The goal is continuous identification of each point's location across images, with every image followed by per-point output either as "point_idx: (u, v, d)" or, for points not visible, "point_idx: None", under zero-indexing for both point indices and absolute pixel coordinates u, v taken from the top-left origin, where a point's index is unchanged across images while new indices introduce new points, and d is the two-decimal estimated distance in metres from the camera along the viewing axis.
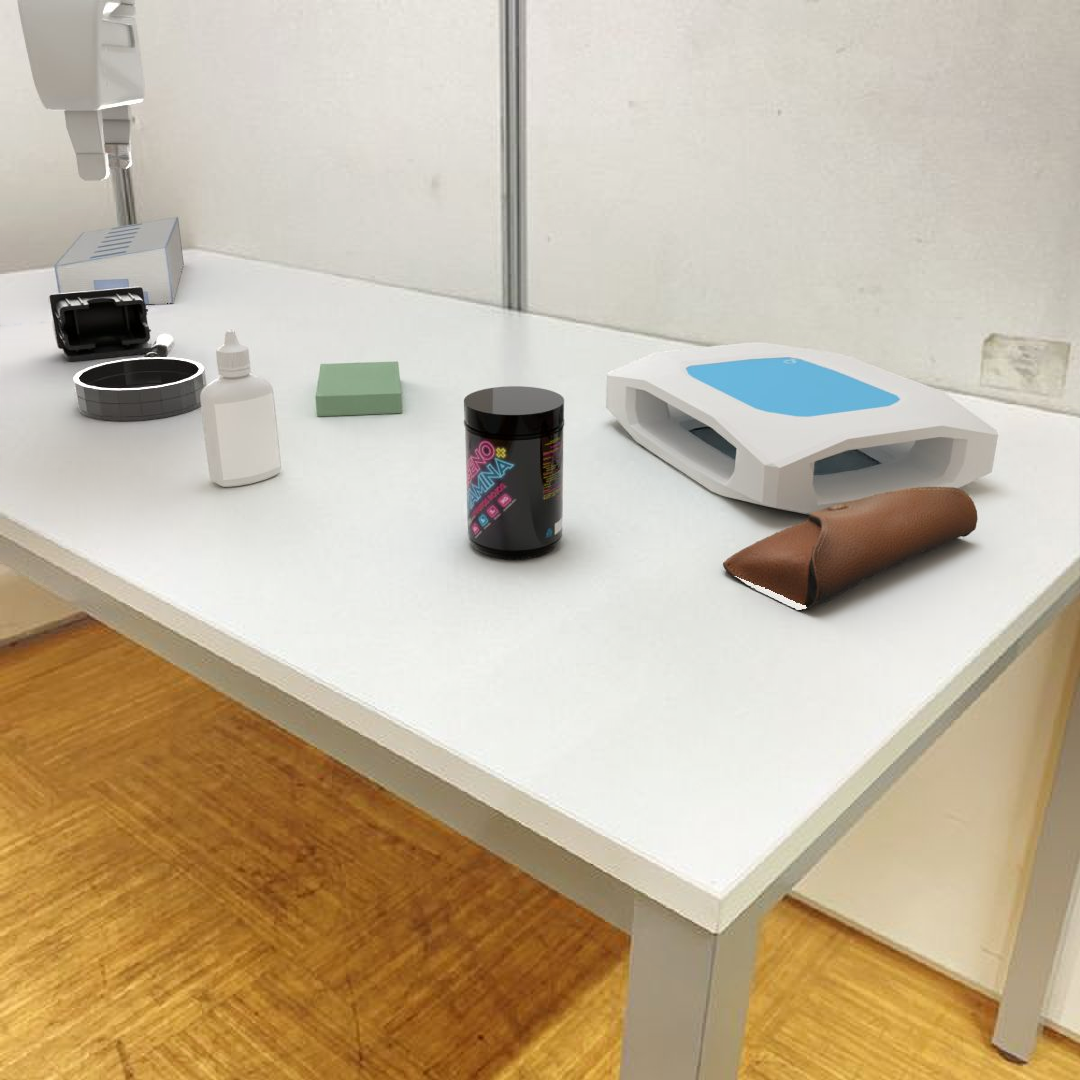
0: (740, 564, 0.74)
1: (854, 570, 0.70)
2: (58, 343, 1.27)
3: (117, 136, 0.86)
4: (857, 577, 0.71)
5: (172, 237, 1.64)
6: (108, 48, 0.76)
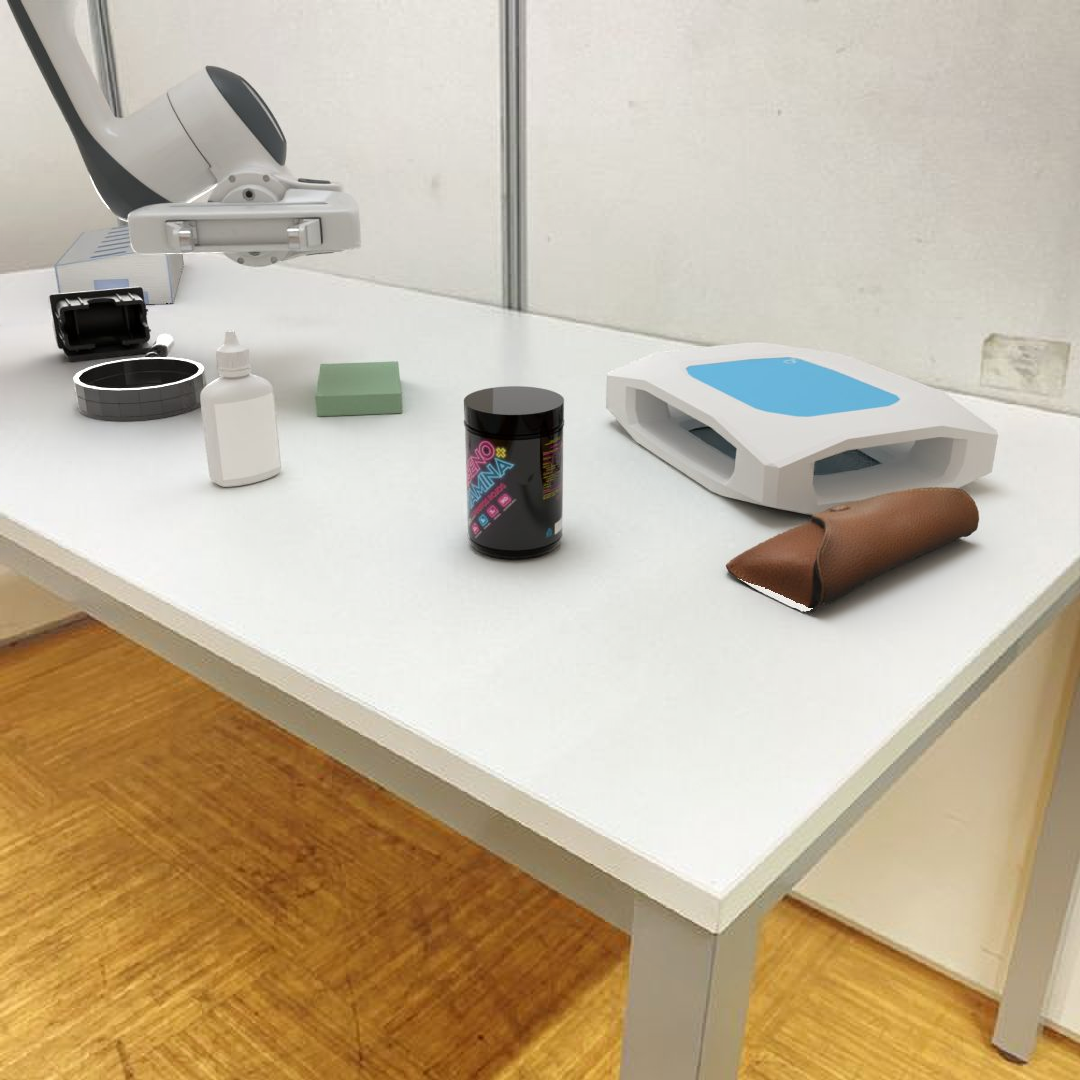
0: (743, 566, 0.74)
1: (858, 571, 0.70)
2: (58, 343, 1.27)
3: None
4: (861, 578, 0.70)
5: None
6: None
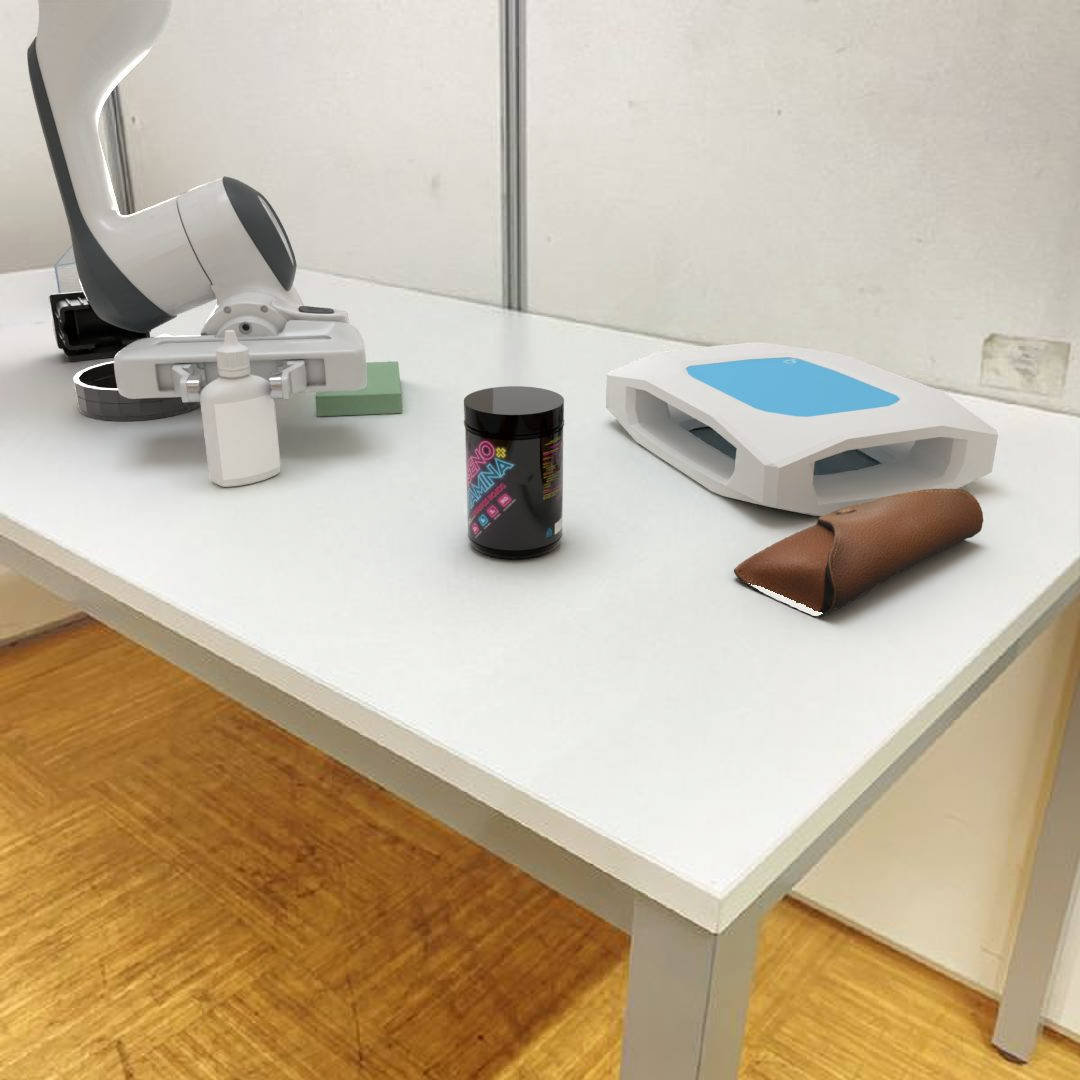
0: (751, 570, 0.73)
1: (869, 574, 0.70)
2: (58, 343, 1.27)
3: None
4: (871, 582, 0.70)
5: None
6: None
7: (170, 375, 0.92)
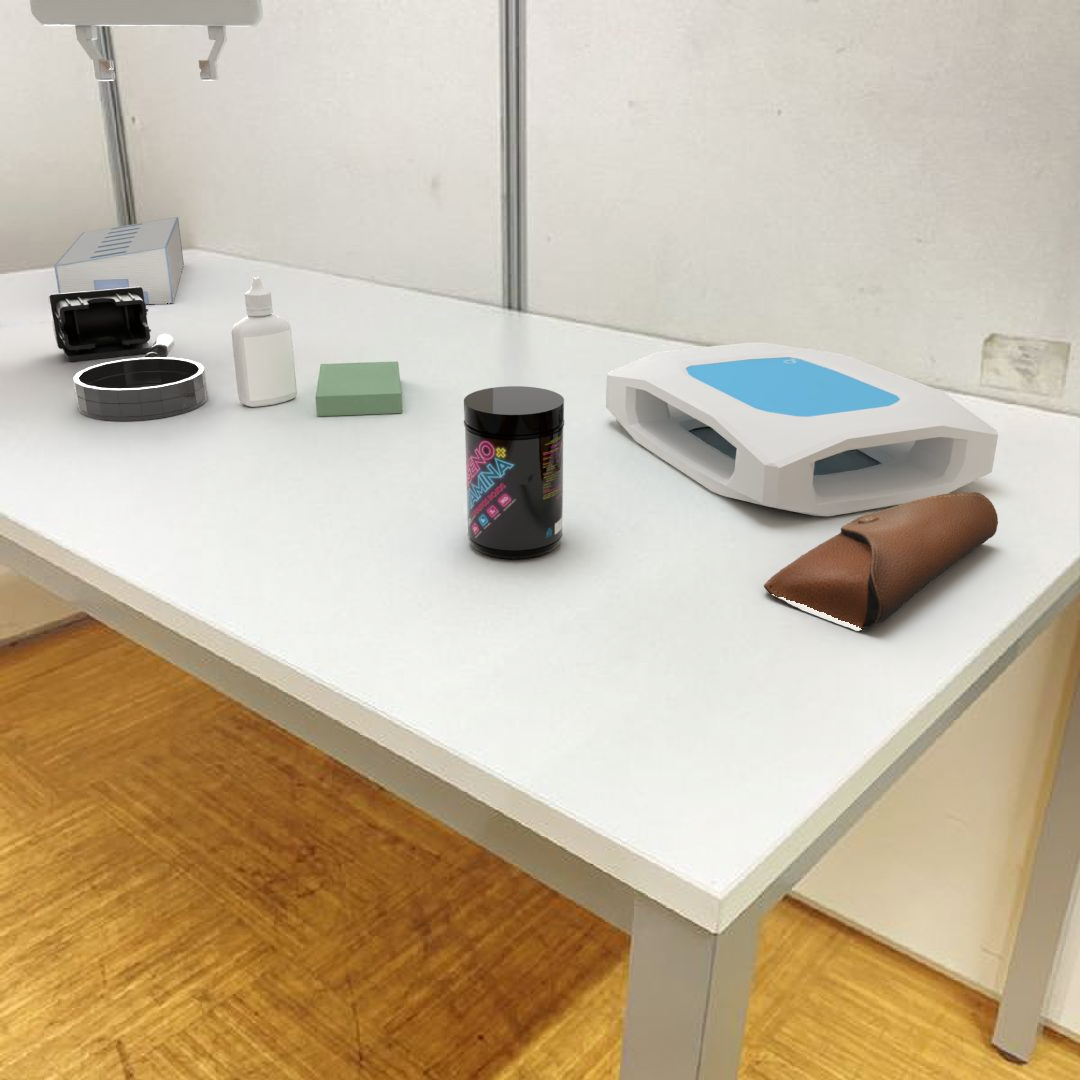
0: (783, 585, 0.71)
1: (908, 585, 0.68)
2: (58, 343, 1.27)
3: (98, 53, 1.04)
4: (910, 592, 0.69)
5: (172, 237, 1.64)
6: None
7: None
